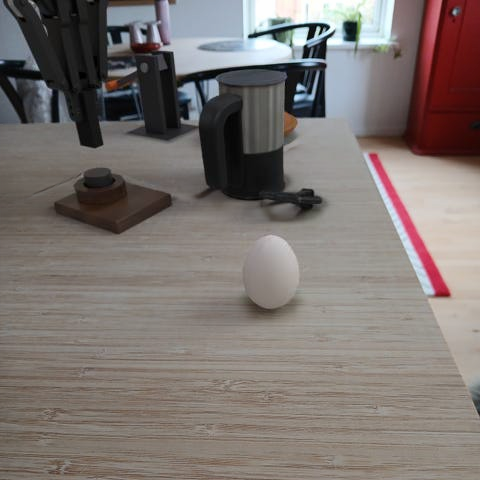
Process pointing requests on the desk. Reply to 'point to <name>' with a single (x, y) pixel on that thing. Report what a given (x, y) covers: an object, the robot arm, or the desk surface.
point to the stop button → (98, 177)
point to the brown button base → (112, 204)
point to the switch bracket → (159, 98)
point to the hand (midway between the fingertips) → (92, 145)
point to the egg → (270, 272)
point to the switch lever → (132, 76)
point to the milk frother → (248, 138)
